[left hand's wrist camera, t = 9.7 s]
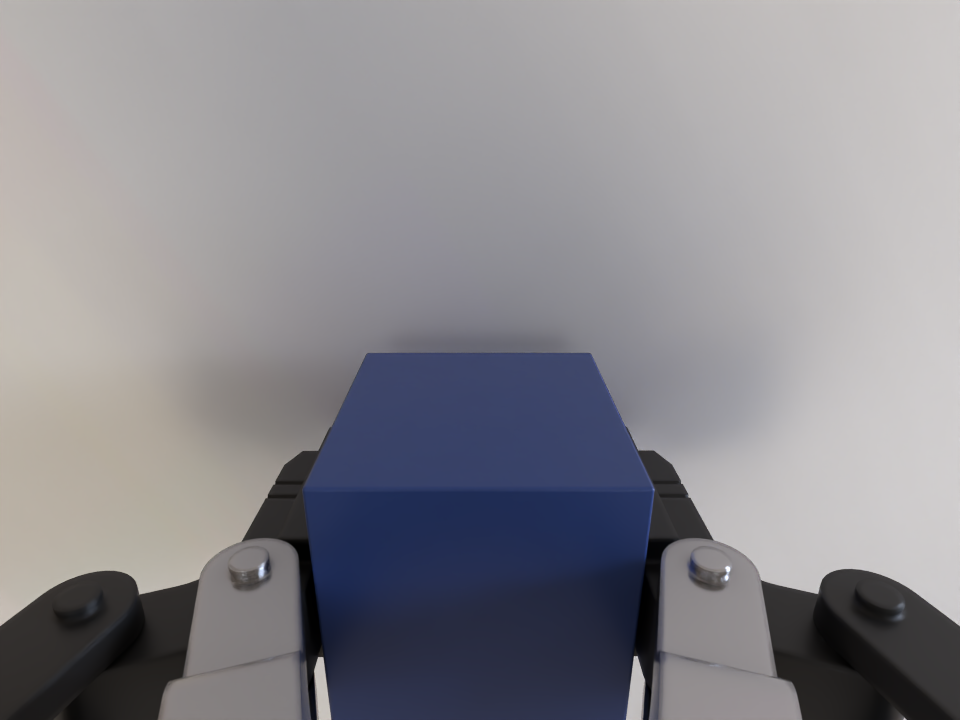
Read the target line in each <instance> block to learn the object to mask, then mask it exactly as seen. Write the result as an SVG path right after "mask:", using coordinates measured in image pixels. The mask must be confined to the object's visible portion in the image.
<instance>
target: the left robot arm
mask: <svg viewBox="0 0 960 720" xmlns="http://www.w3.org/2000/svg"><path fill="white" fill-rule="evenodd" d="M331 428H332V427H330V428H329V430H328V432H327V434H326V436H325V438H324V440H323V442H322V445H321V447H320V449H319V451H302V452H301V453H300V454H299V455H297V456H296V457H295V458H293V459H292V460H291V461H289V462H288V463H287V464H285V465H284V467H283V469H282V471H281V472H280V474H279V476H278V478H277V479H276V481H275V485H273V487H272V488H271V490H270V492H269V494H268V498H266V499H265V501H264V503H263V505H262V506H261V508H260V510H259V512H258V513H257V515H256V517H255V519H254V521H253V522H252V524H251V526H250V528H249V530H248V531H247V533H246V535H245V537H244V538H243V540H242V542H240V543H237V544H234V545H232V546H230V547H228V548H226V549H224V550H222V551H221V552H219V553H218V554H216V555H215V556H214V557H213V558H212V559H211V560H210V561H209V562H208V563H207V564H206V565H205V567H204V568H203V570H202V572H201V575H200V579H199V580H196V581H193V582H191V583H188V584H184V585H180V586H176V587H172V588H168V589H163V590H159V591H154V592H150V593H145V594H141V595H139V591H138V587H137V584H136V582H135V580H134V579H133V578H132V577H131V576H129V575H128V574H125V573H122V572H117V571H99V572H93V573H88V574H84V575H81V576H78V577H75V578H72V579H70V580H67V581H65V582H63V583H61V584H59V585H57V586H55V587H53V588H52V589H50V590H48V591H47V592H46V593H44V594H43V595H41V596H40V597H39V598H37V599H36V600H35V601H33V602H32V603H31V604H29V605H28V606H27V607H25V608H24V609H23V610H21V611H20V612H19V613H17V614H16V615H15V616H13V617H12V618H11V619H9V620H8V621H7V622H5V623H4V624H3V625H1V626H0V720H319V716H318V701H317V689H316V682H315V674H314V669H315V665H316V662H317V659H318V657H323V649H322V641H321V634H320V626H319V618H318V610H317V602H316V594H315V587H314V579H313V571H312V563H311V555H310V547H309V540H308V532H307V524H306V516H305V508H304V500H303V493H302V489H303V486H304V484H305V482H306V480H307V478H308V476H309V474H310V472H311V470H312V467H313V465H314V463H315V461H316V459H317V457H318V455H319V453H320V451H321V449H322V446H323V444H324V442H325V440H326V438H327V436H328V434H329V432H330V430H331ZM626 429H627V431H628V434H629V436H630V438H631V440H632V442H633V444H634V446H635V448H636V451H637V453H638V455H639V457H640V459H641V461H642V463H643V465H644V468H645V470H646V472H647V474H648V476H649V478H650V480H651V482H652V485H653V487H654V489H655V491H654V499H653V507H652V515H651V523H650V531H649V539H648V547H647V555H646V563H645V571H644V579H643V587H642V595H641V603H640V611H639V619H638V626H637V634H636V642H635V650H634V656H638V659H639V662H640V666H641V669H642V672H643V676H644V678H645V682H644V689H643V701H642V716H641V720H903V719H904V717H905V718H906V719H907V720H960V626H959V625H957V624H956V623H955V622H953V621H952V620H951V619H949V618H948V617H947V616H945V615H944V614H943V613H941V612H940V611H939V610H937V609H936V608H935V607H933V606H932V605H931V604H929V603H928V602H927V601H925V600H924V599H923V598H921V597H920V596H919V595H917V594H916V593H915V592H913V591H912V590H910V589H909V588H907V587H906V586H904V585H902V584H900V583H899V582H896V581H894V580H892V579H890V578H888V577H885V576H882V575H879V574H876V573H872V572H869V571H863V570H856V569H842V570H836V571H833V572H831V573H829V574H827V575H826V576H825V577H824V578H823V579H822V582H821V585H820V589H819V593H818V594H814V593H810V592H805V591H801V590H796V589H792V588H787V587H783V586H778V585H775V584H771V583H767V582H764V581H762V580H761V579H760V575H759V572H758V570H757V568H756V567H755V565H754V564H753V563H752V562H751V561H750V560H749V559H748V558H747V557H746V556H745V555H743V554H742V553H741V552H739V551H738V550H736V549H734V548H732V547H730V546H728V545H726V544H723V543H720V542H717V541H714V540H713V538H712V536H711V535H710V533H709V531H708V529H707V527H706V526H705V524H704V522H703V520H702V518H701V516H700V515H699V513H698V511H697V509H696V507H695V506H694V504H693V502H692V500H691V498H688V493H687V491H686V489H685V487H684V486H683V484H681V480H680V478H679V477H678V475H677V473H676V471H675V469H674V467H673V466H672V464H670V463H669V462H668V461H667V460H665V459H664V458H663V457H661V456H660V455H659V454H657V453H656V452H655V451H638V449H637V447H636V445H635V443H634V441H633V439H632V437H631V435H630V432H629V430H628V428H627V427H626Z"/></svg>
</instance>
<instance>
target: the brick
mask: <svg viewBox="0 0 960 720" xmlns="http://www.w3.org/2000/svg"><path fill="white" fill-rule="evenodd" d="M654 491H655V489H654V487H653V485H652V482H651V480H650V478H649V476H648V474H647V472H646V470H645V468H644V465H643V463H642V461H641V459H640V457H639V455H638V453H637V451H636V448H635V446H634V444H633V442H632V440H631V438H630V436H629V434H628V431H627V429H626V427H625V425H624V423H623V421H622V419H621V417H620V414H619V412H618V410H617V408H616V406H615V404H614V402H613V400H612V397H611V395H610V393H609V391H608V389H607V387H606V385H605V383H604V380H603V378H602V376H601V374H600V372H599V370H598V368H597V366H596V363H595V361H594V359H593V357H592V355H591V354H590V353H368V354H366V356H365V358H364V360H363V362H362V365H361V367H360V369H359V371H358V373H357V375H356V377H355V379H354V381H353V383H352V386H351V388H350V390H349V392H348V394H347V396H346V398H345V400H344V402H343V404H342V407H341V409H340V411H339V413H338V415H337V417H336V419H335V421H334V423H333V425H332V428H331V430H330V432H329V434H328V436H327V438H326V440H325V442H324V444H323V446H322V449H321V451H320V453H319V455H318V457H317V459H316V461H315V463H314V465H313V467H312V470H311V472H310V474H309V476H308V478H307V480H306V482H305V484H304V486H303V489H302V493H303V500H304V508H305V516H306V524H307V532H308V540H309V547H310V555H311V563H312V571H313V579H314V587H315V594H316V602H317V610H318V618H319V626H320V634H321V641H322V649H323V657H324V665H325V673H326V681H327V688H328V696H329V704H330V712H331V720H626V714H627V706H628V698H629V690H630V682H631V674H632V666H633V658H634V650H635V642H636V634H637V626H638V619H639V611H640V603H641V595H642V587H643V579H644V571H645V563H646V555H647V547H648V539H649V531H650V523H651V515H652V507H653V499H654Z"/></svg>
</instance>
